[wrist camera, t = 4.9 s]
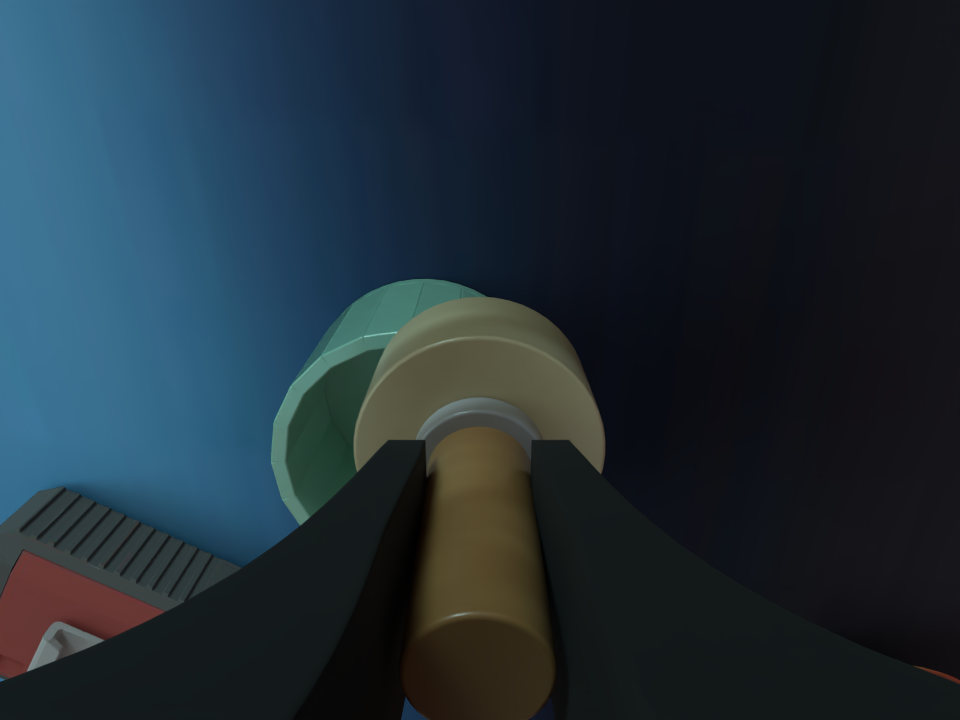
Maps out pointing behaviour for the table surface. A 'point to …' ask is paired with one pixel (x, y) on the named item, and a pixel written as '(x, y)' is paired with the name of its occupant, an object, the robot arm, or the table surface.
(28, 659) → the red grey blocky piece
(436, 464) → the rubber stamp
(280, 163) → the table surface
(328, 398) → the bucket
